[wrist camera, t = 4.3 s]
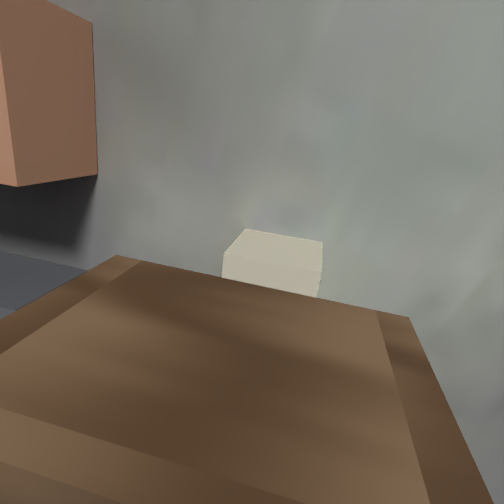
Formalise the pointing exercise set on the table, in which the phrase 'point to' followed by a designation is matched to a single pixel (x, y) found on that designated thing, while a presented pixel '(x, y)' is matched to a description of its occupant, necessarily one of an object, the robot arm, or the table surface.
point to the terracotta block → (45, 94)
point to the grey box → (29, 280)
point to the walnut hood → (219, 398)
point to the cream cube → (275, 262)
